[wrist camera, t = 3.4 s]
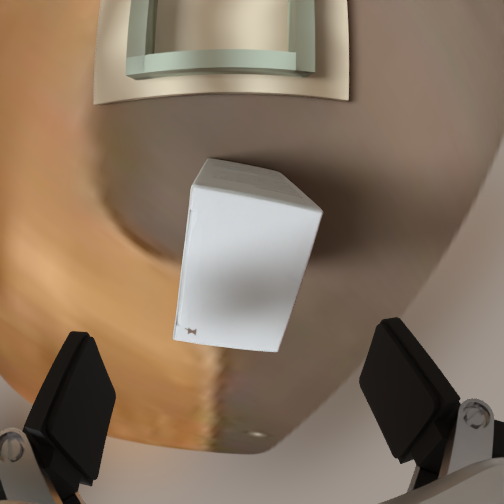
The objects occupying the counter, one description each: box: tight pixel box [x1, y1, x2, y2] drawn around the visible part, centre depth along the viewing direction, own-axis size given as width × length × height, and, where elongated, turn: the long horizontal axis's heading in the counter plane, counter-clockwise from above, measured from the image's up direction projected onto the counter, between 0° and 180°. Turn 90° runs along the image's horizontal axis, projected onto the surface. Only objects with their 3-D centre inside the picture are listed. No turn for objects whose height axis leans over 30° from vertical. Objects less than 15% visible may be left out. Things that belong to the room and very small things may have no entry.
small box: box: [173, 158, 323, 352], centre depth 18 cm, size 8×6×10 cm
